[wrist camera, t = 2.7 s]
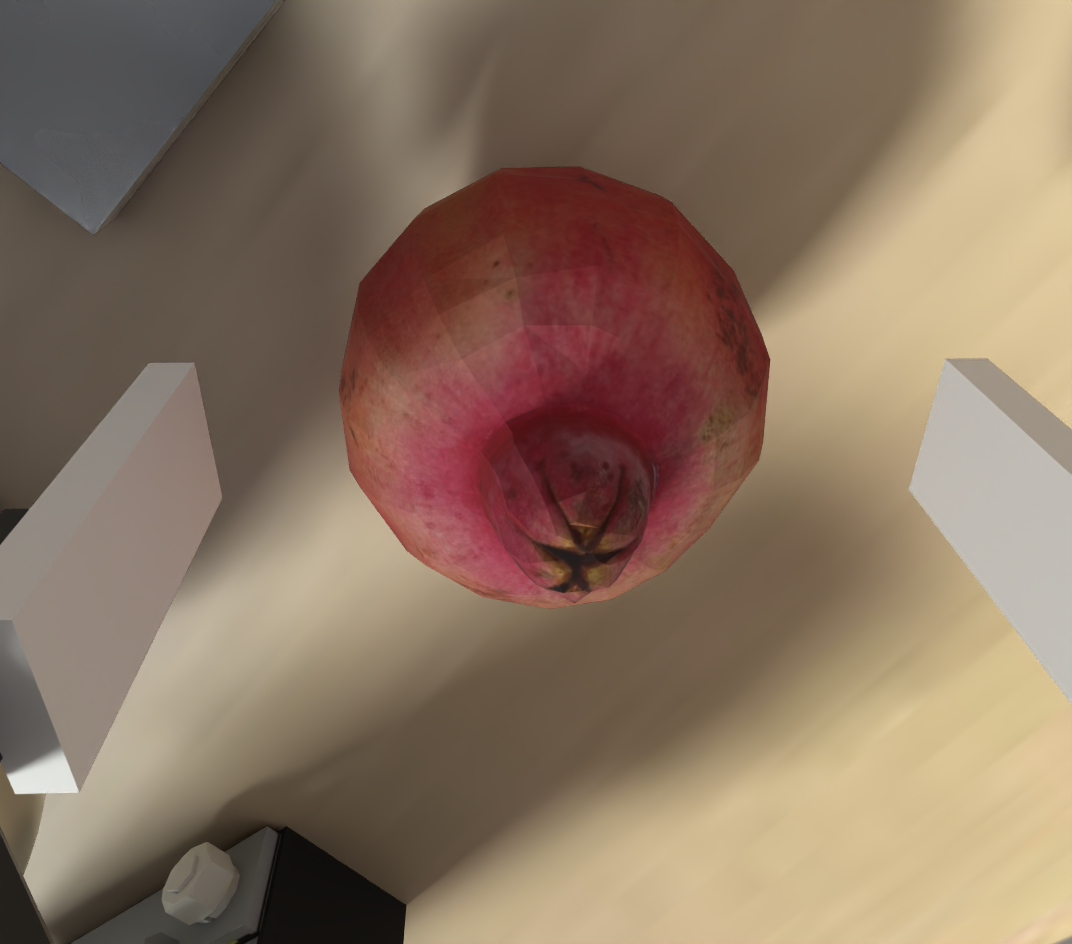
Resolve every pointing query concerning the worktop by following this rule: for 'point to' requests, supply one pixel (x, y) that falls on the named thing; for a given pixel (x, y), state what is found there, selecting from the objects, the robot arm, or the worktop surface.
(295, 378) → the worktop surface
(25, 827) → the teapot
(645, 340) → the fruit
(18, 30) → the grey square pegged plate
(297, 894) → the electrical component
